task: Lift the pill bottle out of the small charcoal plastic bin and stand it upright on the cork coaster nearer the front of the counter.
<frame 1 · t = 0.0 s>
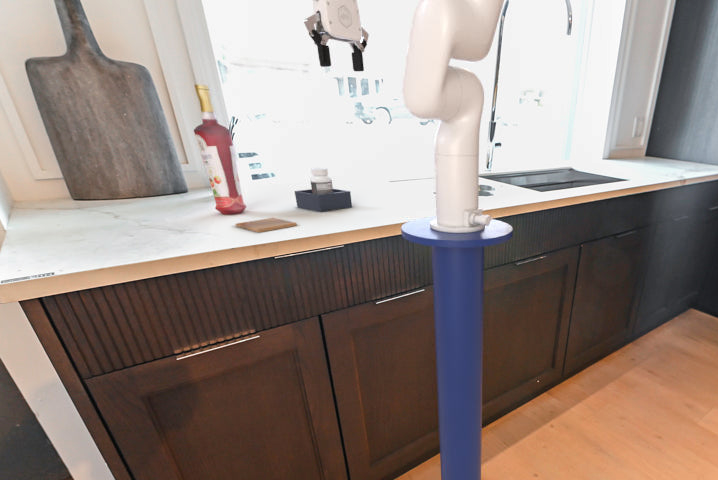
hand: (342, 68, 103), 33 cm above the counter, tool pointing down, fingers open, 9 cm apart
coaster: (266, 225, 96), on the counter
pill bottle: (325, 206, 118), resting on bin
bin: (325, 207, 118), on the counter
liquor: (232, 213, 108), on the counter
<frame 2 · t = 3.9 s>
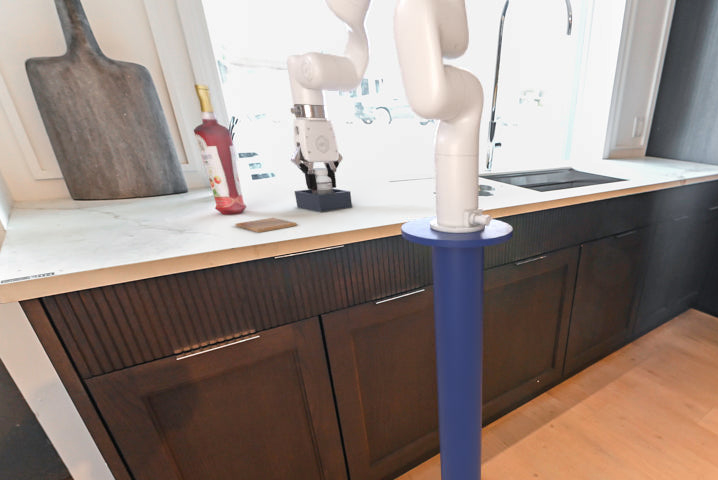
hand: (322, 187, 116), 5 cm above the counter, tool pointing down, fingers closed on pill bottle, 5 cm apart
pill bottle: (325, 206, 118), resting on bin, touching gripper
everything else where it was.
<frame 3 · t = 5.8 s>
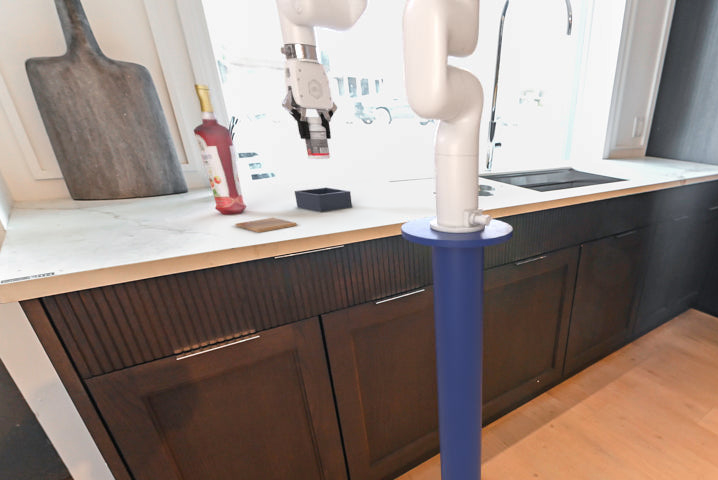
hand: (316, 138, 110), 18 cm above the counter, tool pointing down, fingers closed on pill bottle, 5 cm apart
pill bottle: (319, 159, 112), point 12 cm above the counter, touching gripper
everything else where it was.
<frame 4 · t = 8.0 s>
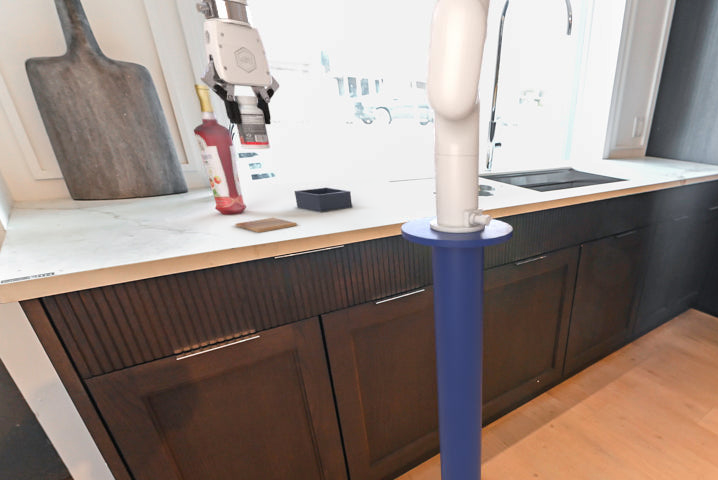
hand: (250, 122, 88), 21 cm above the counter, tool pointing down, fingers closed on pill bottle, 5 cm apart
pill bottle: (256, 149, 90), point 16 cm above the counter, touching gripper
everything else where it was.
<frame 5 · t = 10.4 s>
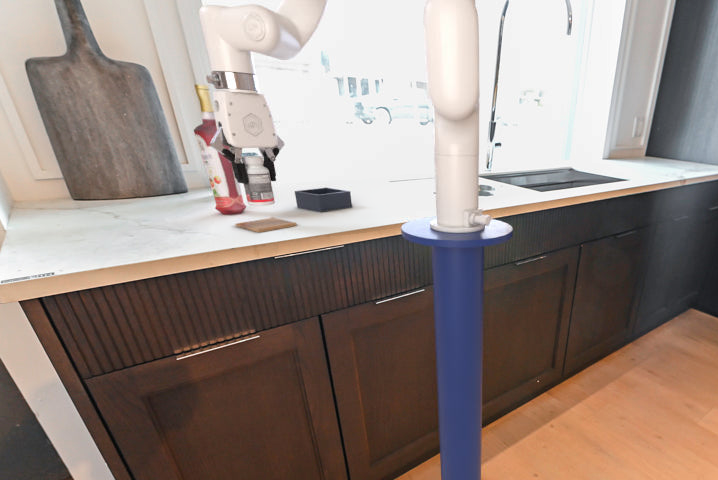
hand: (257, 180, 92), 10 cm above the counter, tool pointing down, fingers closed on pill bottle, 5 cm apart
pill bottle: (262, 205, 94), point 5 cm above the counter, touching gripper
everything else where it was.
when the fingers open (5 cm above the counter, at t = 11.9 s): pill bottle stays where it is, resting on coaster.
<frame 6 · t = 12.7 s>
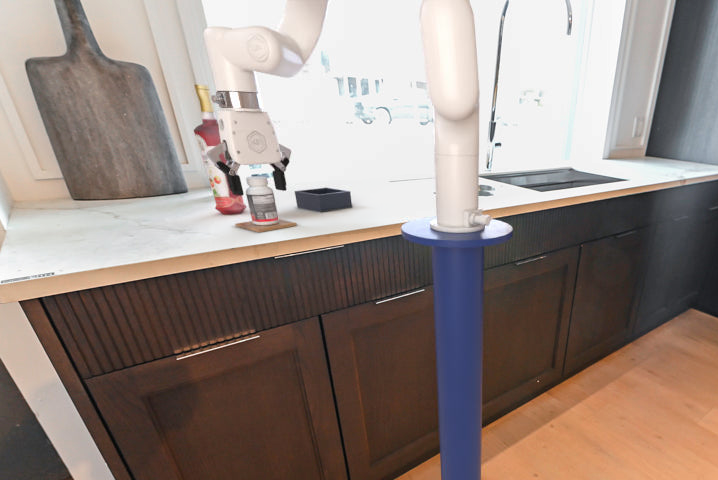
hand: (260, 192, 93), 7 cm above the counter, tool pointing down, fingers open, 9 cm apart
pill bottle: (266, 224, 96), resting on coaster
everything else where it was.
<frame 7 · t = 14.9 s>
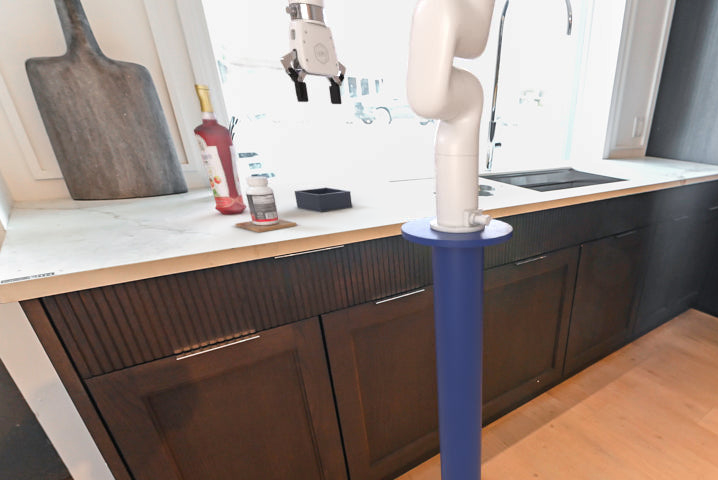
hand: (320, 102, 104), 26 cm above the counter, tool pointing down, fingers open, 9 cm apart
nothing on the counter moved.
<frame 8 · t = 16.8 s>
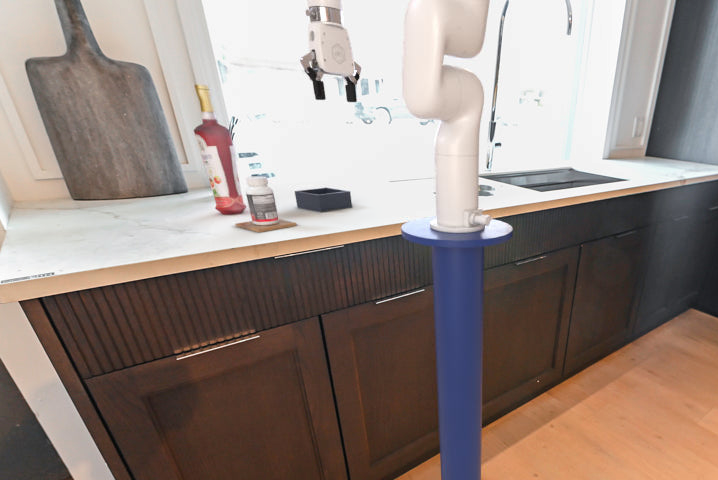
hand: (336, 100, 109), 26 cm above the counter, tool pointing down, fingers open, 9 cm apart
nothing on the counter moved.
at the end: pill bottle 0.0 cm off-centre on the coaster, point 0.4 cm above the coaster's base; pill bottle tilted 0°; the gripper is holding nothing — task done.
